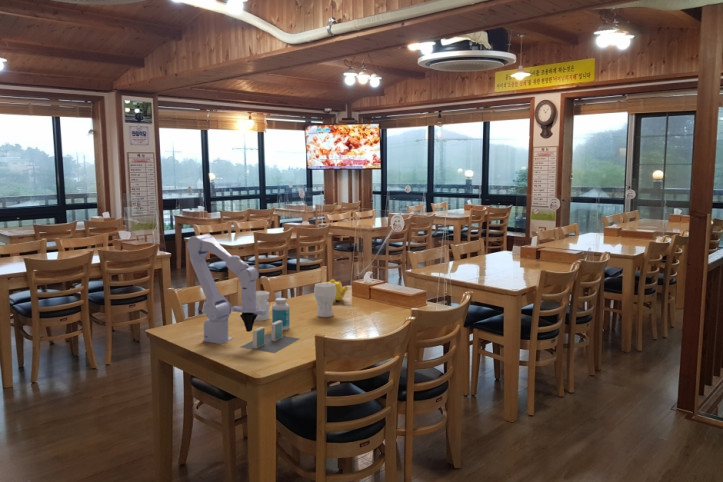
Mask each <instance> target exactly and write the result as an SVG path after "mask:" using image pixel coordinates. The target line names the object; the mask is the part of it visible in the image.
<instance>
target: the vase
mask: <svg viewBox="0 0 723 482" xmlns="http://www.w3.org/2000/svg"><path fill="white" fill-rule="evenodd" d="M269 299H270V292H269V291H266V290H256V308H260V309H263V310H266V315H264V316H261V315H257V317H256V319H255V321H266V320H269V319H270V302H269V301H268V300H269Z"/></svg>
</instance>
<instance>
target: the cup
mask: <svg viewBox="0 0 723 482" xmlns="http://www.w3.org/2000/svg"><path fill="white" fill-rule="evenodd" d="M327 282H328V281H327ZM327 282H326V281H323V282H318V283H315V285H314V289H313V294H314V298H315V301H316V303H317V312H316V316H318V317H321V318H330V317H333V316H334V311H333V305H334V303H333V301H334V300H335V297H336V286H335V284H334V283H327Z"/></svg>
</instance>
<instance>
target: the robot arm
mask: <svg viewBox="0 0 723 482" xmlns="http://www.w3.org/2000/svg"><path fill="white" fill-rule="evenodd" d="M186 247H187V250H188V253H189V260H190V263H191V265H192V268H193V270H194V272H195V274H196V278H197V280H198V282H199V284H200V287H201V289H202V291H203V294H204V296H205V298H206V301H205V303H204V309H205V314H206V315H205V316H206V319H205V320H204V323H203V339H202V342H205V343H214V344H220V345H221V344H224V343H226V342H228V341H230V340H233V339H234V338H233V337H232V336H231V337H229V317H230V315H231V313H237V312H238V313H241V314H240V315H239V316H240V318H241V320H242V322H243V324H244V327H245V330H246V332H247V333H248V332H249V333H250V332H251V331H252V332H253V327H254V324H255V321H256V320H255V319H256V317H257V315H261V316H264V315H266V310H263V309H260V308H256V291H257V280H258V278H259V276H260V272H259V270H258V269H257V267H256V266H253V265H249V264H248V263H247V262H245V261H243V260H242V259H241V257H240V255H236V254H235V255H233V254H230V252H228V251H227V249H225V248H224V247H223V245H221V244H220V243H219V242H218V241H217V239H216V238H215V237H213V235H211V234H210V233H204V234H201V235H200V234H199V235H192V236H190V237H189V238H188V241H187V243H186ZM210 252H211V253H213V255H215V256H216V257H217V258H219V259H220V260H222V261H223V262H225V266H226V268H228V269H229V270H230V271H231V272H232V273H234V274H235V275H236V276H237V279H238V281H239V283H240V294H241V299H240V300H241V302H240V303H241V305H240V306H239V305H234V306H232V305H231V303H230V302H229V301H228V299H227V298H226V297H225V296H224V295H222V294H220V292H219V289H218V287H217V284H216V282H215V280H214V277H213V274H212V273H211V270H210V268H209V266H208V264H207V261H206V257H207V255H208V254H209V253H210Z"/></svg>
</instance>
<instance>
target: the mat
mask: <svg viewBox="0 0 723 482" xmlns="http://www.w3.org/2000/svg"><path fill="white" fill-rule="evenodd" d="M299 340H301V338H298V337H294V336H293V337H292V336H286V335H282V338H280V339H278V340H276V341H271V333H265V344H264V345H262V346H260V347H258V348H253V340H252V341H249V342H247V343H245V344H243V345H241V346H240V348H242V349H249V350H254V351H259V352H265V353H270V354H271V353H273V354H276V353H278V352H279V351H281V350H283V349H285V348H286V347H288V346H290V345H292V344H293V343H295V342H297V341H299Z"/></svg>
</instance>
